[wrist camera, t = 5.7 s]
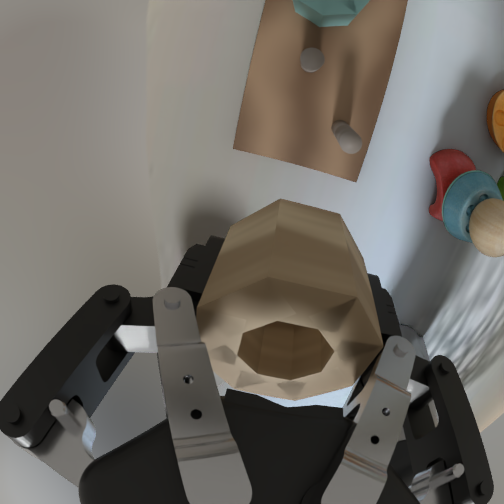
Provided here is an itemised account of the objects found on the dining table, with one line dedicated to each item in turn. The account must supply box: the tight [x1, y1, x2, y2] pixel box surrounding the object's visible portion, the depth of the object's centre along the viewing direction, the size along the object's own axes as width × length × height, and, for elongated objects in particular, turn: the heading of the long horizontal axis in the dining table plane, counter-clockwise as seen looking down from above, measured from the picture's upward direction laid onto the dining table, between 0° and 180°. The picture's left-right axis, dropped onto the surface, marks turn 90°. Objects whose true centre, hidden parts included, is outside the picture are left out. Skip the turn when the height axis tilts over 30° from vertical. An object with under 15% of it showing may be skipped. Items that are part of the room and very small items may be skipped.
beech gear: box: [196, 199, 384, 401], centre depth 11 cm, size 6×6×5 cm
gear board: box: [233, 0, 408, 182], centre depth 18 cm, size 12×23×8 cm, turn 168°
